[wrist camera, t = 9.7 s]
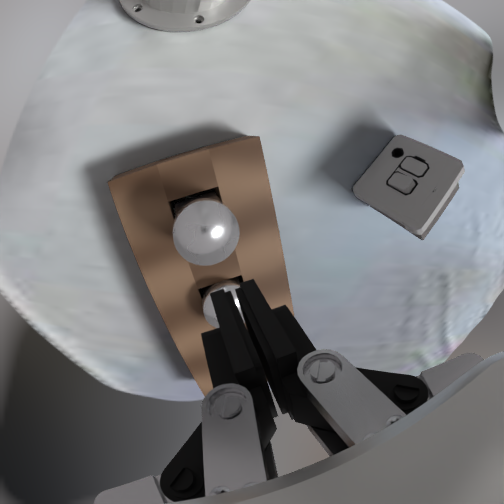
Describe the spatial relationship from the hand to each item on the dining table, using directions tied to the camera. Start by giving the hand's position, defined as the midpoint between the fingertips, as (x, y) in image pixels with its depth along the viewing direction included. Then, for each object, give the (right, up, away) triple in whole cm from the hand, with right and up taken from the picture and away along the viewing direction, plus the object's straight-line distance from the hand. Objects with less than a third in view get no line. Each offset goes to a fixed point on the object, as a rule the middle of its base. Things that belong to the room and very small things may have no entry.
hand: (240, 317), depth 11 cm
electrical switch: (+16, +11, +19) cm, 27 cm away
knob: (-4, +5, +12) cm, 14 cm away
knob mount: (-3, -1, +18) cm, 19 cm away
